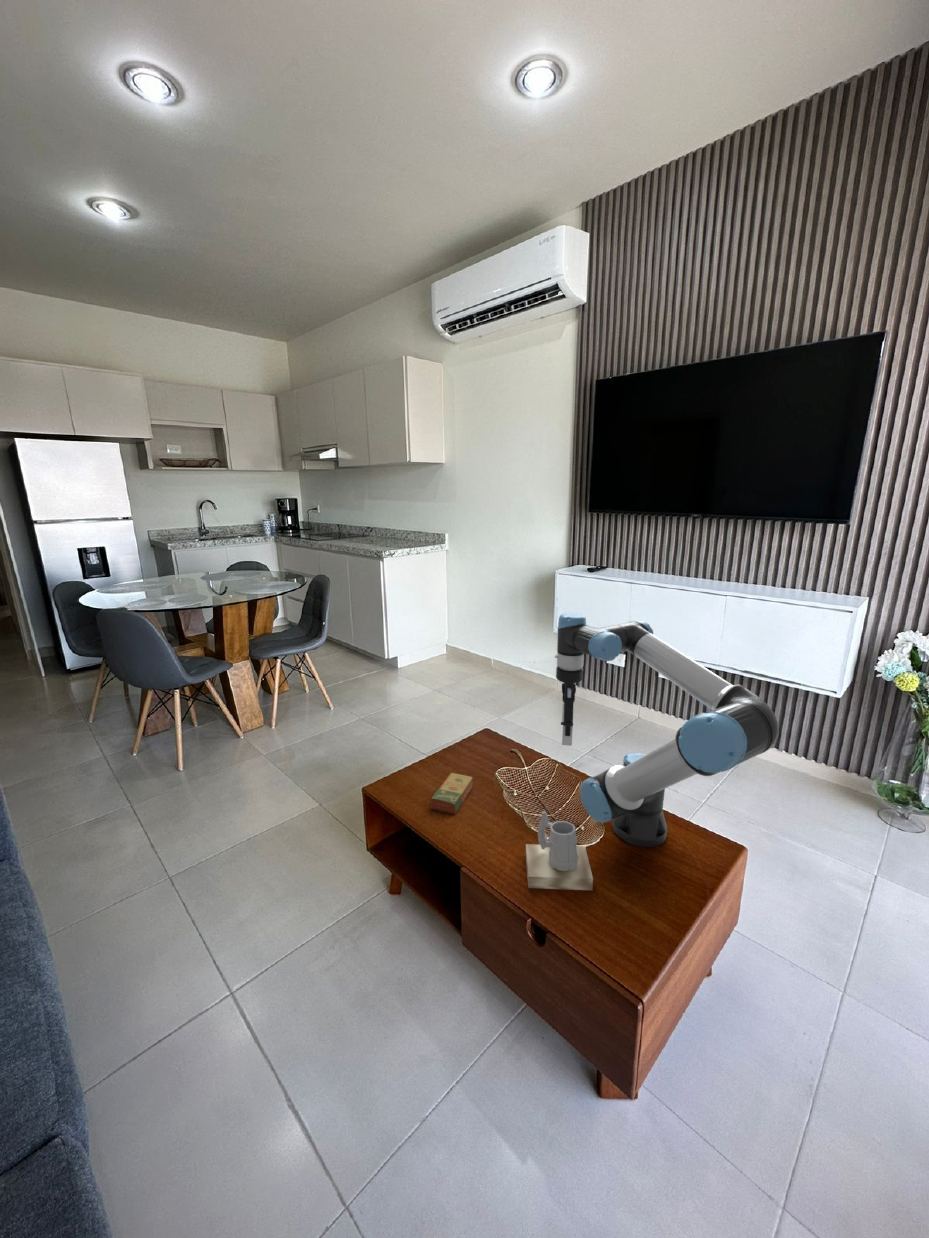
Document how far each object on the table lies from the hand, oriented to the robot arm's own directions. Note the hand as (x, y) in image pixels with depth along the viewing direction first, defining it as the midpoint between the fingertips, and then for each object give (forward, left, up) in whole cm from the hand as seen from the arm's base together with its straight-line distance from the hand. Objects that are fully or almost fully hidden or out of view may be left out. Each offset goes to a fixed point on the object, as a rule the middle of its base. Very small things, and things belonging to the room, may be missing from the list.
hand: (566, 733), depth 152 cm
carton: (+35, -2, -27) cm, 45 cm away
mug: (+2, +26, -23) cm, 35 cm away
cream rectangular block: (+2, +26, -27) cm, 38 cm away
